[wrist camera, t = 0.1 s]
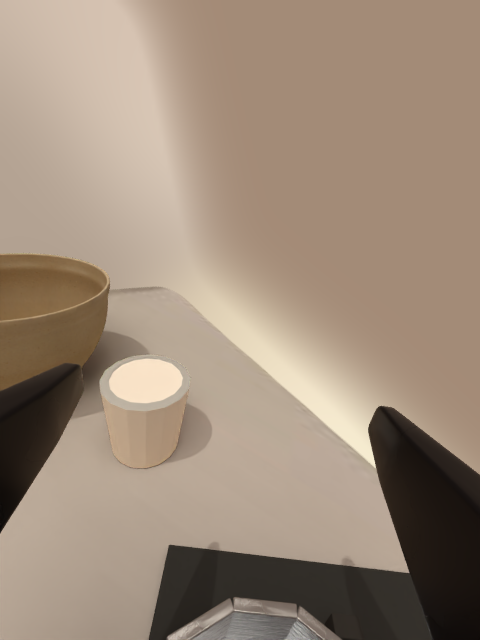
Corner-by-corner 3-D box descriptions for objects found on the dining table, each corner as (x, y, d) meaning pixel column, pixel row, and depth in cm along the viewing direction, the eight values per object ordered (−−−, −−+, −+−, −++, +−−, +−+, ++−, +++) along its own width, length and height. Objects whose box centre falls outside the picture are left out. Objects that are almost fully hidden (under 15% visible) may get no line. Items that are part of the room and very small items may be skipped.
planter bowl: (97, 327, 41) (92, 250, 37) (130, 404, 30) (129, 307, 25) (-63, 349, 33) (-98, 252, 28) (-102, 469, 21) (-173, 339, 16)
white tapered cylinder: (94, 428, 27) (88, 365, 24) (165, 402, 31) (168, 346, 28) (118, 491, 22) (115, 423, 19) (199, 452, 26) (207, 390, 23)
